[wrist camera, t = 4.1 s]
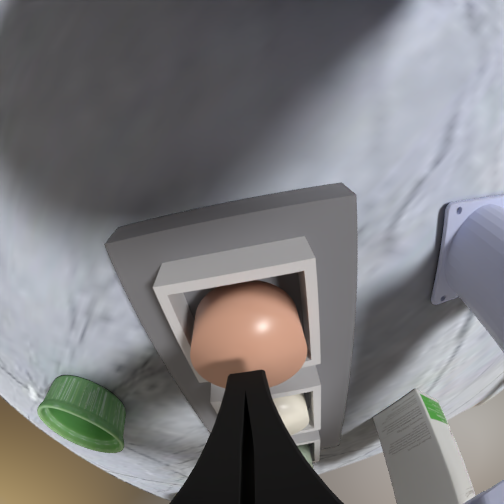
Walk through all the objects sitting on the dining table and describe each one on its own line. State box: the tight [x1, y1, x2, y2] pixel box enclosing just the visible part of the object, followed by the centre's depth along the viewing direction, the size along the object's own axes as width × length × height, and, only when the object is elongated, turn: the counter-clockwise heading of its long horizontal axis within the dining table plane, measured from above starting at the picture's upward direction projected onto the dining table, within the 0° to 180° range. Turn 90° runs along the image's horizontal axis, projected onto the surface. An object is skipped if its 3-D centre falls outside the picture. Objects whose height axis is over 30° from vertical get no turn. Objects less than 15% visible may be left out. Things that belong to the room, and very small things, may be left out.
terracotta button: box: [190, 280, 307, 388], centre depth 13 cm, size 5×5×2 cm
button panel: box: [105, 183, 357, 463], centre depth 19 cm, size 12×28×4 cm, turn 10°
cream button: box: [273, 393, 309, 435], centre depth 18 cm, size 5×5×2 cm
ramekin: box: [37, 375, 126, 453], centre depth 21 cm, size 9×9×4 cm
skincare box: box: [373, 389, 475, 504], centre depth 20 cm, size 8×7×16 cm
